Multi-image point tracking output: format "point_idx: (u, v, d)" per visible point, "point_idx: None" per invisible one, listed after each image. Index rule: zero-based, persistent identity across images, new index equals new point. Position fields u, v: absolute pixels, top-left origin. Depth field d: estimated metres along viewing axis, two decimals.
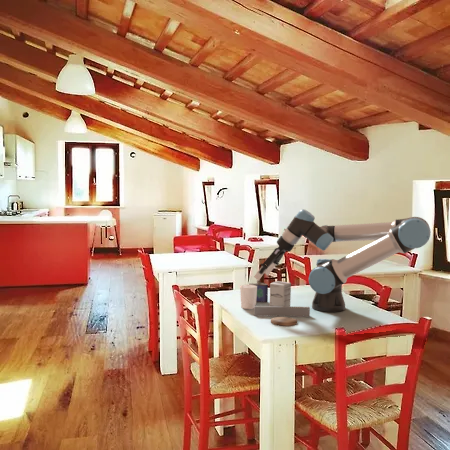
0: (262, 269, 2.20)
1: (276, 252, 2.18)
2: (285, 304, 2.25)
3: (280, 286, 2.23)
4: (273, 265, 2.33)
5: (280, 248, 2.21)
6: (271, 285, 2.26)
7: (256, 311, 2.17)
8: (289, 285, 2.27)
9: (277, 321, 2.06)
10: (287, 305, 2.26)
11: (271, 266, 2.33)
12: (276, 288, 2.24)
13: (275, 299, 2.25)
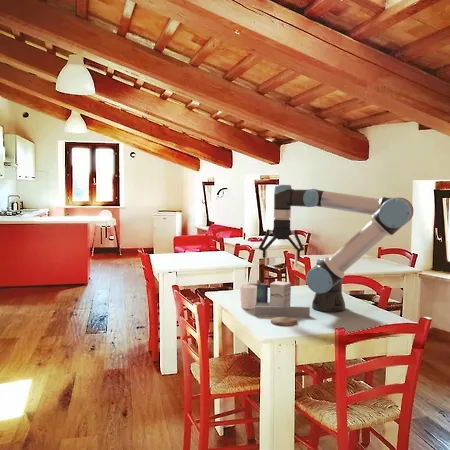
0: None
1: (266, 231, 2.25)
2: (285, 304, 2.25)
3: (280, 286, 2.23)
4: (295, 253, 2.25)
5: (273, 228, 2.25)
6: (271, 285, 2.26)
7: (256, 311, 2.17)
8: (289, 285, 2.27)
9: (277, 321, 2.06)
10: (287, 305, 2.26)
11: (295, 255, 2.26)
12: (276, 288, 2.24)
13: (275, 299, 2.25)
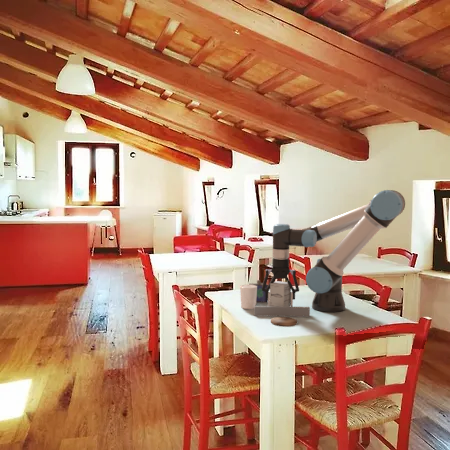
0: (265, 294, 2.28)
1: None
2: (285, 304, 2.25)
3: (280, 286, 2.23)
4: None
5: None
6: (271, 285, 2.26)
7: (256, 311, 2.17)
8: None
9: (277, 321, 2.06)
10: (287, 305, 2.26)
11: None
12: (276, 287, 2.24)
13: (275, 299, 2.25)
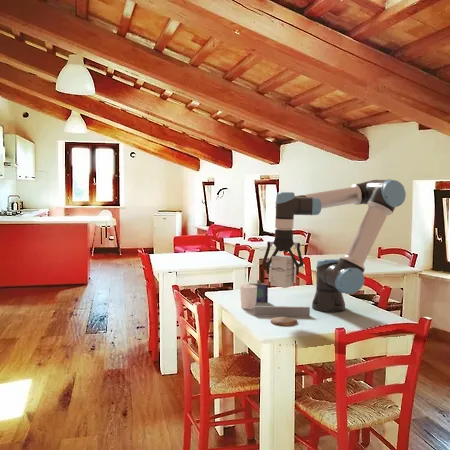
0: None
1: (267, 244, 2.08)
2: (287, 279, 2.06)
3: (282, 259, 2.04)
4: (294, 269, 2.08)
5: None
6: (273, 258, 2.07)
7: (256, 311, 2.17)
8: (292, 259, 2.08)
9: (277, 321, 2.06)
10: (290, 280, 2.07)
11: (294, 271, 2.08)
12: (278, 261, 2.05)
13: (277, 273, 2.06)
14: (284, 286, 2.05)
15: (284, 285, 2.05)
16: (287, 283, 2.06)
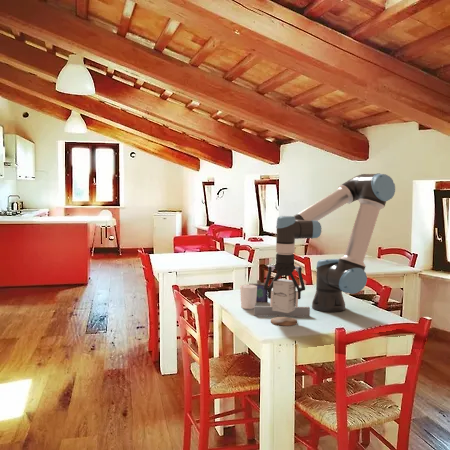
0: (268, 292, 2.07)
1: (268, 269, 2.06)
2: (290, 304, 2.04)
3: (284, 284, 2.02)
4: (296, 293, 2.06)
5: None
6: (274, 283, 2.05)
7: (256, 311, 2.17)
8: None
9: (277, 321, 2.06)
10: (292, 305, 2.06)
11: None
12: (280, 286, 2.04)
13: (279, 298, 2.04)
14: (286, 311, 2.03)
15: (286, 310, 2.03)
16: (290, 308, 2.04)
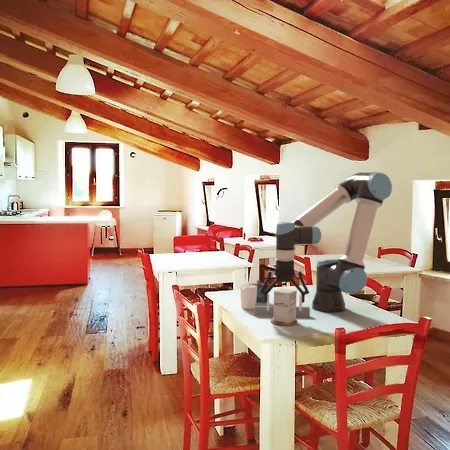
0: (264, 296, 2.07)
1: (268, 273, 2.06)
2: (290, 314, 2.04)
3: (285, 294, 2.03)
4: (299, 297, 2.06)
5: None
6: (275, 293, 2.05)
7: (256, 311, 2.17)
8: (295, 293, 2.07)
9: (277, 321, 2.06)
10: (292, 315, 2.06)
11: (299, 299, 2.07)
12: (280, 296, 2.04)
13: (279, 308, 2.05)
14: (287, 321, 2.03)
15: (287, 320, 2.03)
16: (290, 318, 2.05)
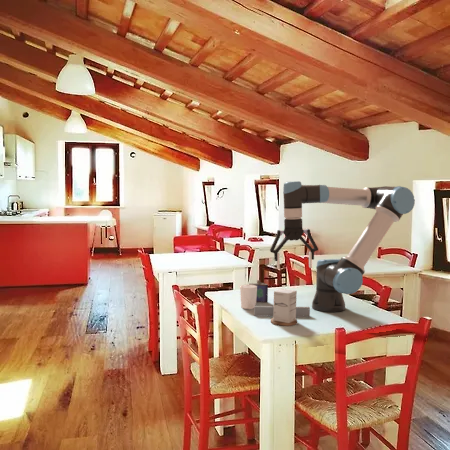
0: (274, 255, 2.11)
1: (277, 232, 2.10)
2: (290, 314, 2.04)
3: (285, 294, 2.03)
4: (309, 254, 2.10)
5: (284, 228, 2.10)
6: (275, 293, 2.05)
7: (256, 311, 2.17)
8: (295, 293, 2.07)
9: (277, 321, 2.06)
10: (292, 315, 2.06)
11: (309, 256, 2.11)
12: (280, 296, 2.04)
13: (279, 308, 2.05)
14: (287, 321, 2.03)
15: (287, 320, 2.03)
16: (290, 318, 2.05)
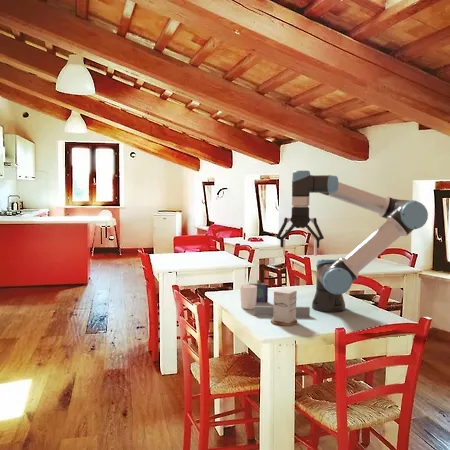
0: (280, 242, 2.16)
1: (284, 220, 2.15)
2: (290, 314, 2.04)
3: (285, 294, 2.03)
4: (314, 242, 2.15)
5: (291, 216, 2.15)
6: (275, 293, 2.05)
7: (256, 311, 2.17)
8: (295, 293, 2.07)
9: (277, 321, 2.06)
10: (292, 315, 2.06)
11: (314, 244, 2.16)
12: (280, 296, 2.04)
13: (279, 308, 2.05)
14: (287, 321, 2.03)
15: (287, 320, 2.03)
16: (290, 318, 2.05)
